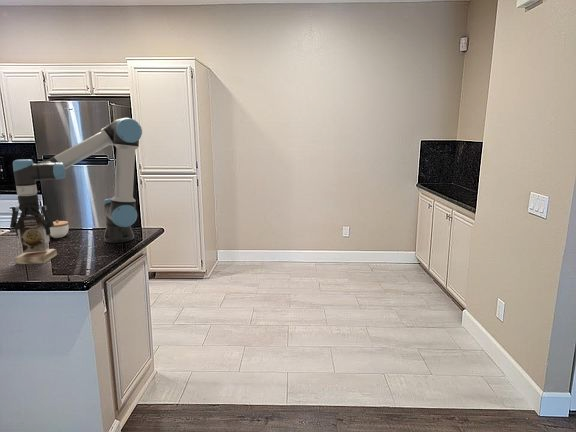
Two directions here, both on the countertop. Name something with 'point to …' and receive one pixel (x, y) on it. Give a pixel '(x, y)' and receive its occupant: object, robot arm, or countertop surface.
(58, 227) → the lidded jar
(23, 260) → the base block
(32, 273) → the countertop surface
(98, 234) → the countertop surface
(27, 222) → the coffee box
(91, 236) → the countertop surface
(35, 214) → the robot arm
